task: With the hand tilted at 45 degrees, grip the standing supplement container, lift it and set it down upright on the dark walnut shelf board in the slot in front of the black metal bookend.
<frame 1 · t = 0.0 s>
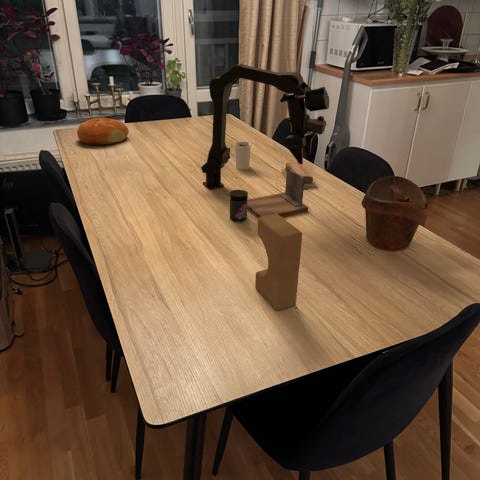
hand: (305, 159, 154), 15 cm above the table, tool pointing down, fingers open, 9 cm apart
white cylindrical container: (242, 167, 191), on the table
decorative block: (274, 297, 113), on the table
supplement container: (238, 219, 150), on the table
bread: (104, 140, 221), on the table
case: (388, 242, 138), on the table
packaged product: (298, 180, 181), on the table
shelf board: (274, 207, 157), on the table
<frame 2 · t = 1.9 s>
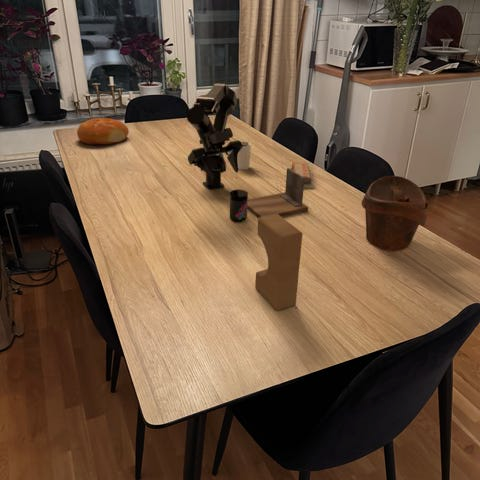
hand: (225, 174, 149), 12 cm above the table, tool tilted 45°, fingers open, 9 cm apart
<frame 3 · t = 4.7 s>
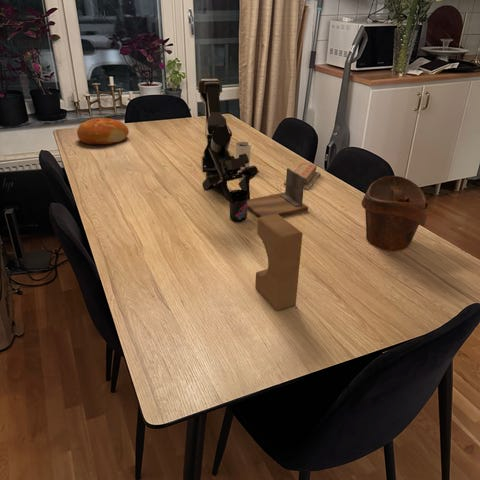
hand: (241, 201, 145), 7 cm above the table, tool tilted 45°, fingers closed on supplement container, 6 cm apart
supplement container: (238, 219, 150), on the table, touching gripper
when the fingers open (9 cm above the table, at t = 8.5 s): supplement container drops 1 cm, resting on shelf board.
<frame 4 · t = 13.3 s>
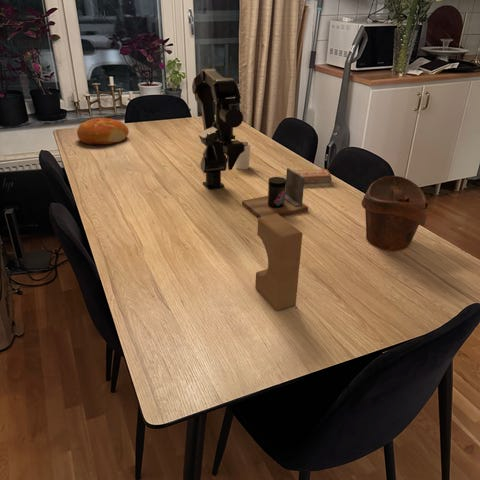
hand: (224, 165, 156), 13 cm above the table, tool pointing down, fingers open, 9 cm apart
supplement container: (275, 205, 156), point 1 cm above the table, touching shelf board
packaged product: (306, 183, 178), on the table
everything else where it was.
at the end: supplement container inside the target area on the shelf board (0.5 cm from its centre), point 1.3 cm above the shelf board's base; supplement container tilted 0°; the gripper is holding nothing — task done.
